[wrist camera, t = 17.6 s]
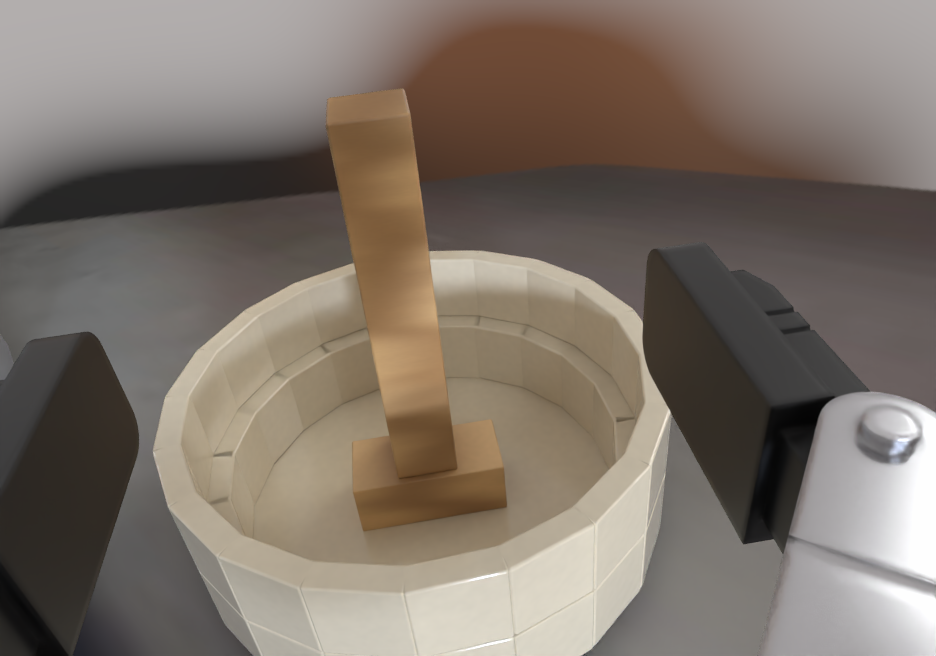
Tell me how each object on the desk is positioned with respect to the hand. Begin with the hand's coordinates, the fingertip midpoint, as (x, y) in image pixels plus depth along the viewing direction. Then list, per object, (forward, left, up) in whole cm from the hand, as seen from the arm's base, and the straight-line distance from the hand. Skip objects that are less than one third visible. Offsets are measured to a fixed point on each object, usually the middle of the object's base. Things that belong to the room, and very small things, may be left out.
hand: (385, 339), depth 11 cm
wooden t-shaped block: (-3, -9, -13) cm, 16 cm away
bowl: (-3, -9, -14) cm, 17 cm away
